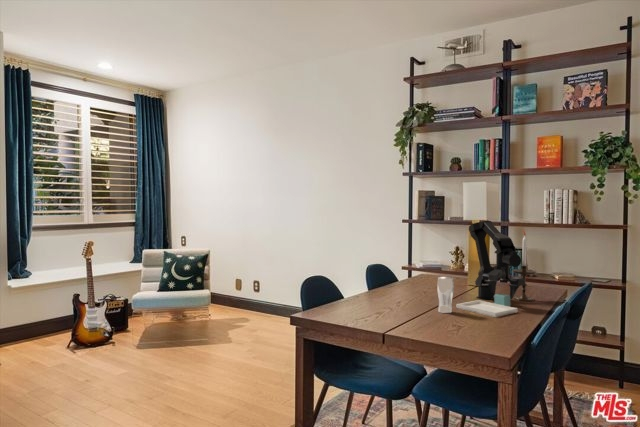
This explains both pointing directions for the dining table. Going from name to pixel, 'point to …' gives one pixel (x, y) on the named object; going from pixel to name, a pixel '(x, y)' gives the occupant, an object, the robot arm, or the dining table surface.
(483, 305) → the tray
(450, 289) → the beer glass
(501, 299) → the block
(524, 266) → the candlestick
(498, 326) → the dining table surface
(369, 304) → the dining table surface
